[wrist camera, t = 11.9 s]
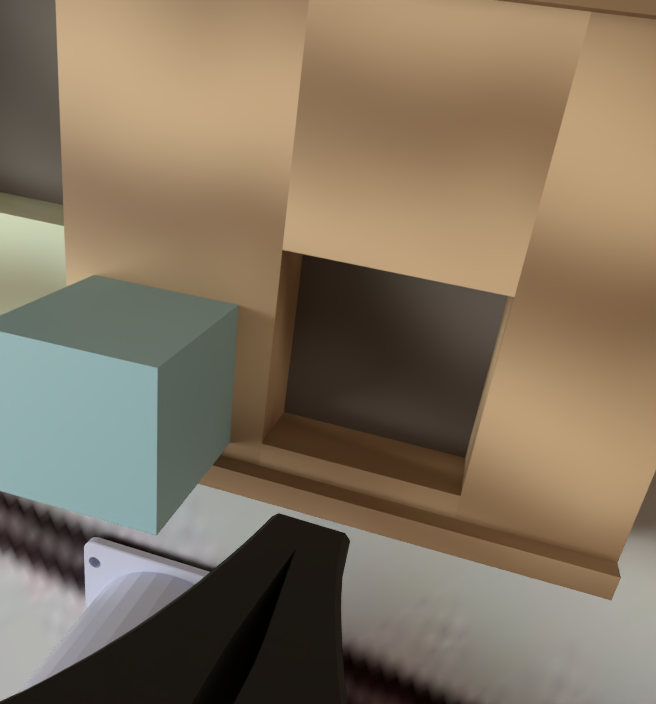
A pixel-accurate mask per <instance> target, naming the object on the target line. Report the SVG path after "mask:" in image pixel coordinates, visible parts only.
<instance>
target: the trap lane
mask: <svg viewBox="0 0 656 704" xmlns="http://www.w3.org/2000/svg"><path fill="white" fill-rule="evenodd" d="M92 275H96V276H101V277H106V278H111V279H116V280H121V281H126V282H130V283H135V284H140V285H145V286H150V287H155V288H159V289H164V290H169V291H174V292H179V293H184V294H189V295H193V296H198V297H203V298H208V299H213V300H218V301H223V302H227V303H232V304H237V305H239V306H238V322H237V338H236V354H235V370H234V386H233V402H232V418H231V434H230V444H229V445H228V446H227V447H226V449H225V450H224V451H223V452H222V454H221V455H220V456H219V457H218V459H217V460H216V461H215V462H214V464H213V465H212V466H211V468H210V469H209V470H208V471H207V473H206V474H205V475H204V476H203V478H202V479H201V480H200V481H199V483H198V484H202V485H205V486H209V487H212V488H216V489H220V490H223V491H227V492H230V493H234V494H237V495H241V496H244V497H248V498H251V499H255V500H258V501H262V502H266V503H269V504H273V505H276V506H280V507H283V508H287V509H290V510H294V511H297V512H301V513H304V514H308V515H312V516H315V517H319V518H322V519H326V520H329V521H333V522H336V523H340V524H343V525H347V526H350V527H354V528H358V529H361V530H365V531H368V532H372V533H375V534H379V535H382V536H386V537H389V538H393V539H396V540H400V541H404V542H407V543H411V544H414V545H418V546H421V547H425V548H428V549H432V550H435V551H439V552H443V553H446V554H450V555H453V556H457V557H460V558H464V559H467V560H471V561H474V562H478V563H481V564H485V565H489V566H492V567H496V568H499V569H503V570H506V571H510V572H513V573H517V574H520V575H524V576H527V577H531V578H535V579H538V580H542V581H545V582H549V583H552V584H556V585H559V586H563V587H566V588H570V589H573V590H577V591H581V592H584V593H588V594H591V595H595V596H598V597H602V598H605V599H609V600H612V597H613V595H614V593H615V590H616V588H617V586H618V583H619V581H620V579H621V577H620V573H619V568H618V564H617V562H618V560H619V557H620V555H621V553H622V550H623V548H624V545H625V543H626V541H627V538H628V536H629V533H630V531H631V529H632V526H633V524H634V521H635V519H636V517H637V514H638V512H639V509H640V507H641V505H642V502H643V500H644V497H645V495H646V493H647V490H648V488H649V485H650V483H651V481H652V478H653V476H654V474H655V471H656V0H0V315H2V314H5V313H7V312H9V311H12V310H14V309H16V308H19V307H21V306H23V305H25V304H28V303H30V302H32V301H35V300H37V299H39V298H42V297H44V296H46V295H48V294H51V293H53V292H55V291H58V290H60V289H62V288H65V287H67V286H69V285H72V284H74V283H76V282H78V281H81V280H83V279H85V278H88V277H90V276H92Z"/></svg>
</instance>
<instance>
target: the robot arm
mask: <svg viewBox="0 0 656 704" xmlns="http://www.w3.org/2000/svg"><path fill="white" fill-rule="evenodd" d="M349 543H350V540H349V538H348V537H347V535H346V534H345V533H342V532H339V531H336V530H332V529H329V528H326V527H322V526H319V525H316V524H313V523H309V522H306V521H303V520H299V519H296V518H293V517H289V516H286V515H283V514H279V513H278V514H276V515H274V516H272V517H271V518H270V519H269V520H268V521H267V522H266V523H265V524H264V525H263V526H262V527H261V528H260V529H259V530H258V531H257V532H256V533H255V534H254V535H253V536H251V537H250V538H249V539H248V540H247V541H246V542H245V543H244V544H243V545H242V546H240V547H239V548H238V549H237V550H236V551H235V552H234V553H232V554H231V555H230V556H229V557H228V558H227V559H226V560H224V561H223V562H222V563H221V564H219V565H218V566H217V567H216V568H214V569H213V570H212V571H211V572H209V571H206V570H202V569H199V568H196V567H193V566H189V565H186V564H183V563H180V562H177V561H173V560H170V559H167V558H164V557H160V556H157V555H154V554H151V553H147V552H144V551H141V550H138V549H134V548H131V547H128V546H125V545H122V544H118V543H115V542H112V541H109V540H105V539H102V538H98V537H94V538H91V539H90V540H89V541H88V542H87V543H86V545H85V547H84V561H85V592H86V610H85V612H84V613H83V614H82V615H81V616H80V618H79V619H78V620H77V621H76V623H75V624H74V625H73V626H72V627H71V629H70V630H69V631H68V632H67V634H66V635H65V636H64V637H63V638H62V640H61V641H60V642H59V643H58V645H57V646H56V647H55V648H54V649H53V651H52V652H51V653H50V654H49V656H48V657H47V658H46V659H45V660H44V662H43V663H42V664H41V665H40V667H39V668H38V669H37V670H36V671H35V673H34V674H33V675H32V676H31V678H30V679H29V680H28V681H27V683H26V684H25V685H24V686H23V687H22V689H21V690H20V691H19V692H18V694H15V695H13V696H11V697H9V698H7V699H4V700H2V701H0V704H347V696H346V687H345V676H344V665H343V652H342V627H341V592H342V576H343V572H344V567H345V562H346V558H347V553H348V548H349Z"/></svg>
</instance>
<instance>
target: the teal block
mask: <svg viewBox="0 0 656 704" xmlns="http://www.w3.org/2000/svg"><path fill="white" fill-rule="evenodd" d="M238 306H239V305H237V304H232V303H227V302H223V301H218V300H213V299H208V298H203V297H198V296H193V295H189V294H184V293H179V292H174V291H169V290H164V289H159V288H155V287H150V286H145V285H140V284H135V283H130V282H126V281H121V280H116V279H111V278H106V277H101V276H96V275H92V276H90V277H88V278H85V279H83V280H81V281H78V282H76V283H74V284H72V285H69V286H67V287H65V288H62V289H60V290H58V291H55V292H53V293H51V294H48V295H46V296H44V297H42V298H39V299H37V300H35V301H32V302H30V303H28V304H25V305H23V306H21V307H19V308H16V309H14V310H12V311H9V312H7V313H5V314H2V315H0V491H3V492H7V493H10V494H13V495H17V496H20V497H24V498H27V499H31V500H34V501H38V502H41V503H45V504H48V505H52V506H55V507H59V508H62V509H66V510H69V511H73V512H76V513H79V514H83V515H86V516H90V517H93V518H97V519H100V520H104V521H107V522H111V523H114V524H118V525H121V526H125V527H128V528H132V529H135V530H139V531H142V532H145V533H149V534H152V535H157V534H158V533H159V532H160V530H161V529H162V528H163V527H164V525H165V524H166V523H167V522H168V520H169V519H170V518H171V517H172V515H173V514H174V513H175V512H176V510H177V509H178V508H179V507H180V505H181V504H182V503H183V501H184V500H185V499H186V498H187V496H188V495H189V494H190V493H191V491H192V490H193V489H194V488H195V486H196V485H197V484H198V483H199V481H200V480H201V479H202V478H203V476H204V475H205V474H206V473H207V471H208V470H209V469H210V468H211V466H212V465H213V464H214V462H215V461H216V460H217V459H218V457H219V456H220V455H221V454H222V452H223V451H224V450H225V449H226V447H227V446H228V445H229V444H230V434H231V418H232V402H233V386H234V370H235V354H236V338H237V322H238Z"/></svg>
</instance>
